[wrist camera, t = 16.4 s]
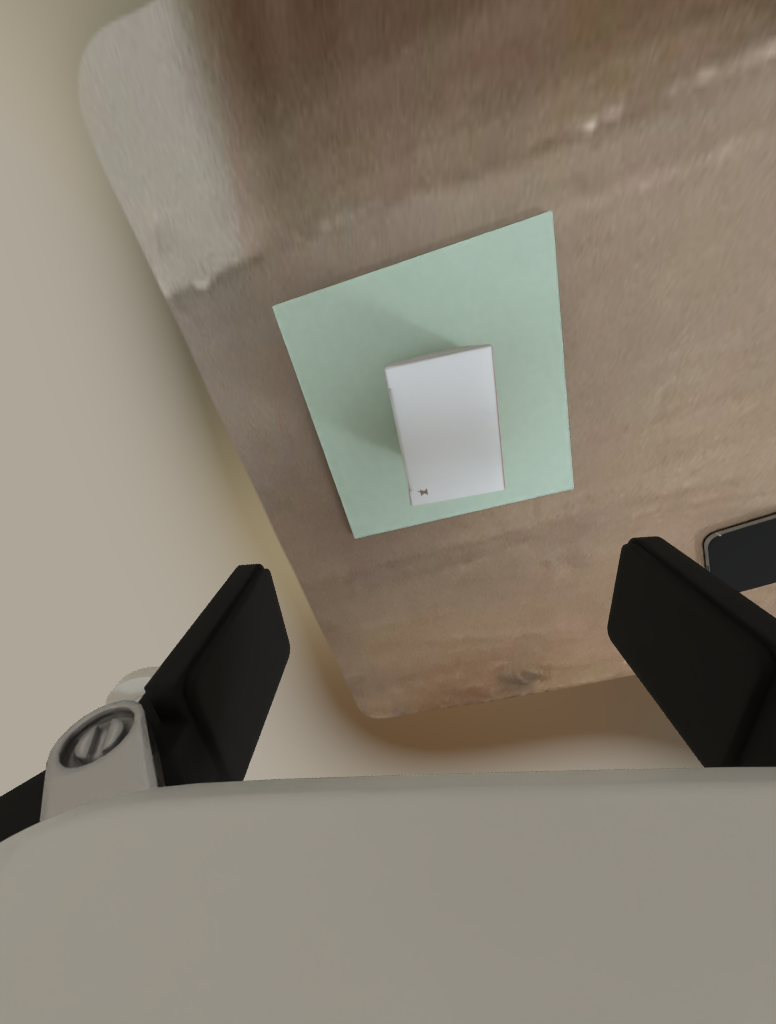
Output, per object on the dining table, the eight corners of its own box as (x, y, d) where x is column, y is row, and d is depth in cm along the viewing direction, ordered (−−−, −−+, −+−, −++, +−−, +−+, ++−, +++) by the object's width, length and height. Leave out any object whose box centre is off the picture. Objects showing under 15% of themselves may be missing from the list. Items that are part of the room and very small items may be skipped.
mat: (355, 535, 35) (354, 539, 34) (274, 307, 27) (271, 306, 26) (570, 486, 32) (573, 488, 31) (549, 212, 24) (552, 209, 23)
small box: (474, 448, 30) (508, 494, 20) (408, 460, 31) (410, 511, 21) (463, 344, 27) (495, 341, 17) (389, 360, 28) (381, 367, 18)
